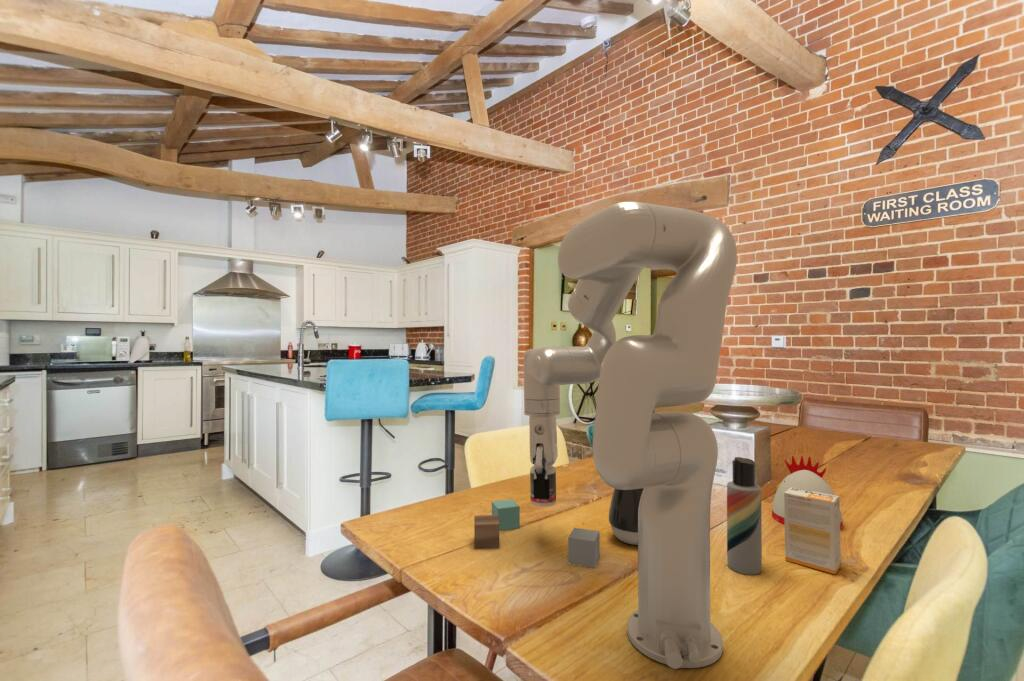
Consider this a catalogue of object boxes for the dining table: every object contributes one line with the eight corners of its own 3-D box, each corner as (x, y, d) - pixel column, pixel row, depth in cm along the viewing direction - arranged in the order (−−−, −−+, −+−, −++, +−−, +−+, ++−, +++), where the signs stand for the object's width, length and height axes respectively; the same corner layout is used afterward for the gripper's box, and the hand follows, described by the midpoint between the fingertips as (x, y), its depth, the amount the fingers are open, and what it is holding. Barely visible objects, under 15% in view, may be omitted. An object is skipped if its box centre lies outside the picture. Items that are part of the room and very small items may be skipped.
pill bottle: (535, 508, 95) (534, 459, 96) (527, 500, 101) (526, 454, 101) (560, 505, 97) (559, 457, 97) (550, 498, 102) (549, 452, 102)
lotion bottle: (731, 557, 91) (731, 453, 91) (764, 566, 87) (764, 458, 87) (723, 568, 86) (722, 459, 86) (757, 578, 83) (757, 464, 83)
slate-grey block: (594, 568, 87) (594, 541, 87) (568, 564, 88) (568, 537, 88) (599, 557, 91) (599, 531, 91) (574, 553, 93) (574, 527, 93)
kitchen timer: (773, 506, 119) (773, 447, 119) (839, 517, 112) (839, 453, 112) (770, 525, 107) (770, 458, 107) (845, 538, 100) (844, 467, 100)
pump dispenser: (624, 553, 93) (624, 476, 93) (600, 533, 103) (600, 463, 103) (669, 547, 95) (669, 472, 95) (642, 528, 105) (642, 459, 105)
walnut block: (499, 548, 95) (499, 523, 95) (474, 549, 95) (474, 524, 95) (498, 538, 100) (498, 514, 100) (474, 539, 100) (474, 515, 100)
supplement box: (841, 566, 87) (841, 495, 87) (835, 575, 84) (835, 501, 84) (791, 552, 93) (791, 485, 93) (783, 560, 90) (783, 491, 90)
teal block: (519, 528, 105) (519, 506, 105) (498, 531, 104) (498, 508, 104) (512, 520, 110) (512, 499, 110) (491, 523, 108) (491, 501, 109)
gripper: (556, 412, 90) (557, 508, 90) (562, 403, 107) (564, 483, 107) (517, 412, 92) (519, 506, 91) (530, 402, 108) (531, 482, 108)
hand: (543, 493), depth 99 cm, fingers closed on pill bottle, 5 cm apart
